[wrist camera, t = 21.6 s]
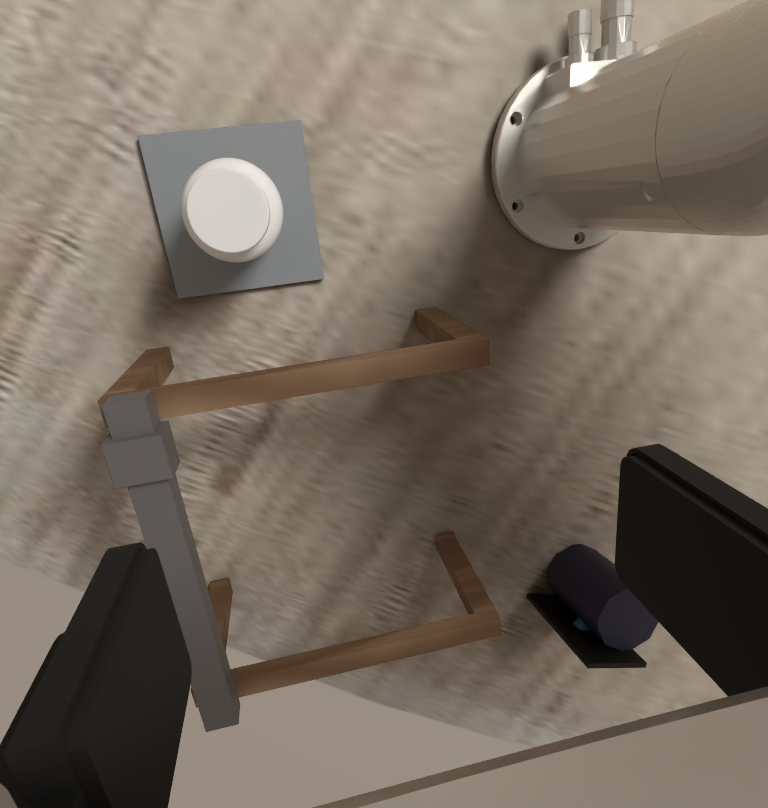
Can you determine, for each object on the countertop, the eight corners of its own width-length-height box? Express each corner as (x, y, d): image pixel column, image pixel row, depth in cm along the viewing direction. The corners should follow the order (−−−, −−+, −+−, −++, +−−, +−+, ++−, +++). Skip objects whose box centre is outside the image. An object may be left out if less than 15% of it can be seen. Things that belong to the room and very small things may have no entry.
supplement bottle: (291, 245, 36) (296, 256, 27) (212, 262, 36) (190, 278, 27) (270, 160, 34) (268, 141, 25) (187, 176, 34) (154, 163, 25)
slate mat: (139, 136, 33) (137, 135, 33) (300, 121, 34) (300, 120, 34) (179, 297, 37) (178, 298, 36) (323, 278, 38) (324, 278, 38)
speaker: (570, 616, 53) (637, 693, 43) (524, 596, 52) (583, 672, 42) (610, 551, 52) (688, 615, 42) (565, 530, 51) (635, 590, 41)
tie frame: (146, 349, 37) (97, 401, 27) (435, 307, 40) (488, 339, 30) (214, 595, 45) (196, 707, 35) (453, 545, 48) (500, 635, 38)
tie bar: (102, 397, 27) (89, 410, 25) (159, 388, 27) (151, 401, 25) (202, 712, 35) (198, 741, 33) (246, 702, 35) (244, 729, 33)
